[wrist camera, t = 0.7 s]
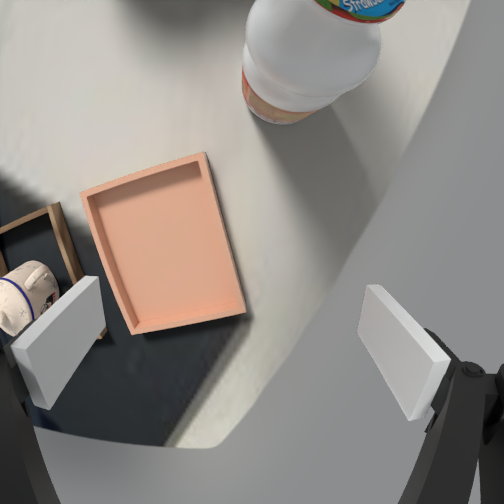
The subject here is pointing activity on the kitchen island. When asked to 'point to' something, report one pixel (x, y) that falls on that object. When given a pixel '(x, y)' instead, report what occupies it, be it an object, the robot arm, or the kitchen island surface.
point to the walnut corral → (63, 242)
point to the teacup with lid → (26, 295)
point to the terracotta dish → (165, 245)
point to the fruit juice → (309, 53)
